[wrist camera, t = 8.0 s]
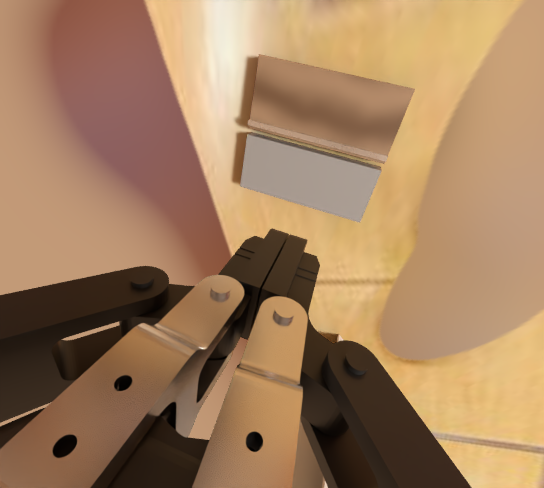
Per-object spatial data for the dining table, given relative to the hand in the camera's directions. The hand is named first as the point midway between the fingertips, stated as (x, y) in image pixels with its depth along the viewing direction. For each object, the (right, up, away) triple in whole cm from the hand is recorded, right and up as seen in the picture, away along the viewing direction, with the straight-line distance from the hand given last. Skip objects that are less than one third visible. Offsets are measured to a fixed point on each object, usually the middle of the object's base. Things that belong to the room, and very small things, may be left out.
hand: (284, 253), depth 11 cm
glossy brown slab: (+6, +16, +22) cm, 28 cm away
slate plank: (+4, +10, +26) cm, 28 cm away
